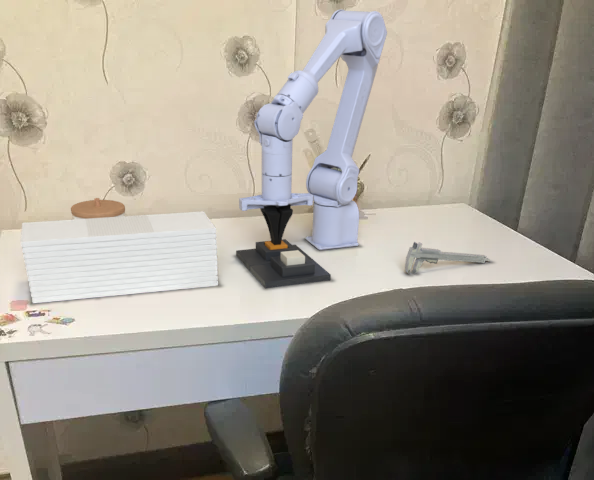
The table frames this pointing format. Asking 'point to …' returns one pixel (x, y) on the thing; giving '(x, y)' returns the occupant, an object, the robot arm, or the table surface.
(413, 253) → the caliper
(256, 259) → the keypad
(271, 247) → the amber key
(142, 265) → the stack of papers
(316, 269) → the keypad
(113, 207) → the trinket box
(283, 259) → the white key
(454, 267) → the table surface
